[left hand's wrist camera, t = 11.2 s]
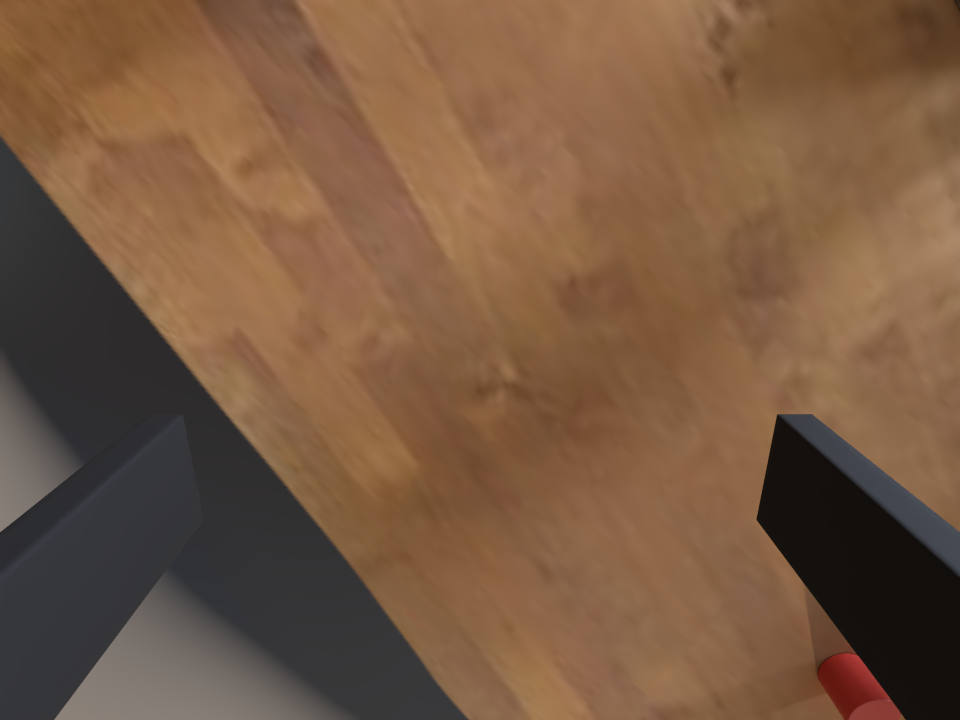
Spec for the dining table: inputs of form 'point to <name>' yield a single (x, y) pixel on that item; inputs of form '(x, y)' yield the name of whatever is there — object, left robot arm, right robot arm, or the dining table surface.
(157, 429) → the left robot arm
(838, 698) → the canister
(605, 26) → the dining table surface
